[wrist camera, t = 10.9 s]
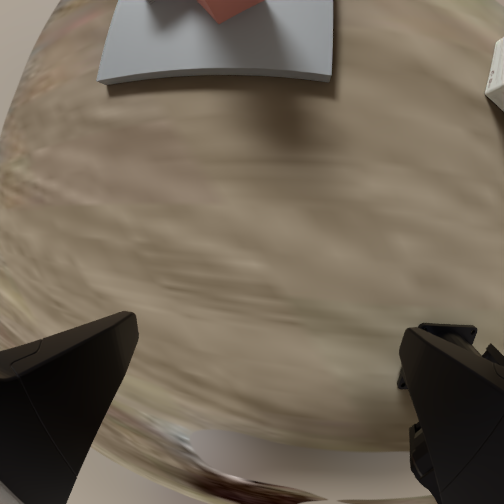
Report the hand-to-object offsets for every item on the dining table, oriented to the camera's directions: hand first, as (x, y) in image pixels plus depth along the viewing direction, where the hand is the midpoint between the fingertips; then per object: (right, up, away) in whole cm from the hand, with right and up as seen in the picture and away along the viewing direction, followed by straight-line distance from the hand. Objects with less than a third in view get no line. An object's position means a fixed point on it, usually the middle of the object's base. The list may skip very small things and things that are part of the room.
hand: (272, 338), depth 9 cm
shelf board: (-3, +23, +8) cm, 25 cm away
